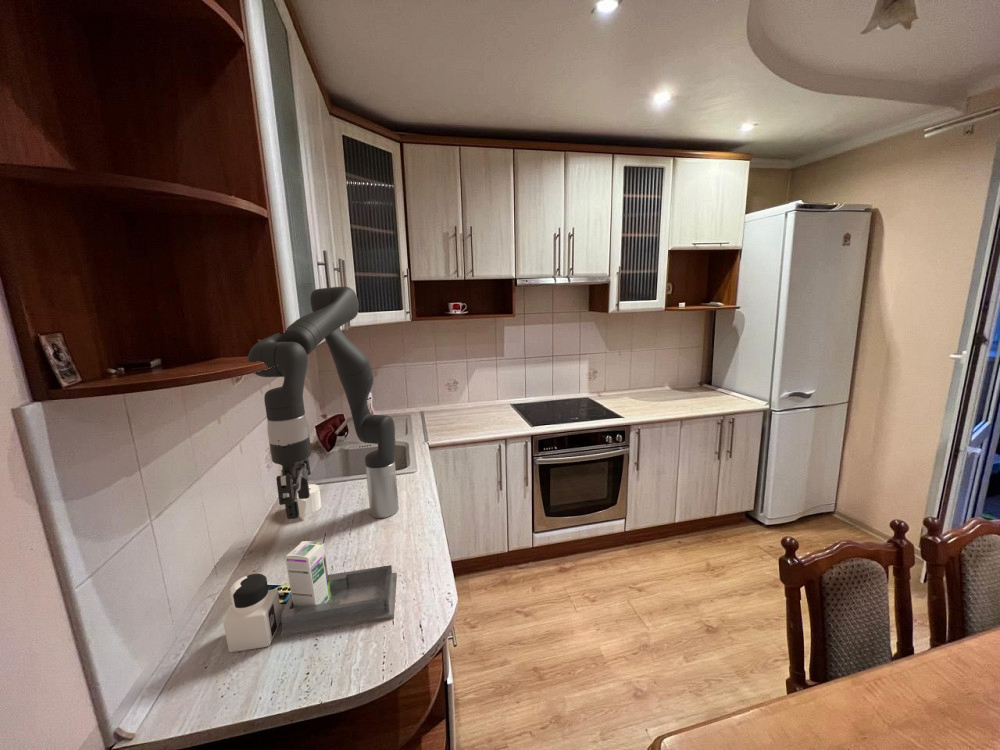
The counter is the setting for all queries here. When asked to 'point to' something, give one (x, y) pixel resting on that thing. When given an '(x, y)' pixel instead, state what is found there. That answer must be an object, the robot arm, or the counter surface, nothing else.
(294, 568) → the syrup box
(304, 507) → the toilet paper
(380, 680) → the counter surface
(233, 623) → the container
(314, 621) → the low gray tray
